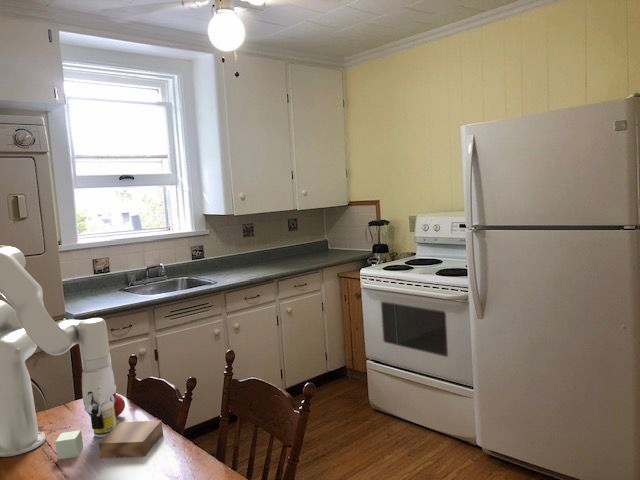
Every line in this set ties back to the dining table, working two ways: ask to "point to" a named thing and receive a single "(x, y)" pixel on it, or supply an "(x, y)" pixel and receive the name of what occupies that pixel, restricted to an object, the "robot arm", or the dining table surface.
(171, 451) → the dining table surface
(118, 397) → the onion
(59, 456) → the sage cube
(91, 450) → the dining table surface
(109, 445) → the walnut block
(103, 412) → the pill bottle
